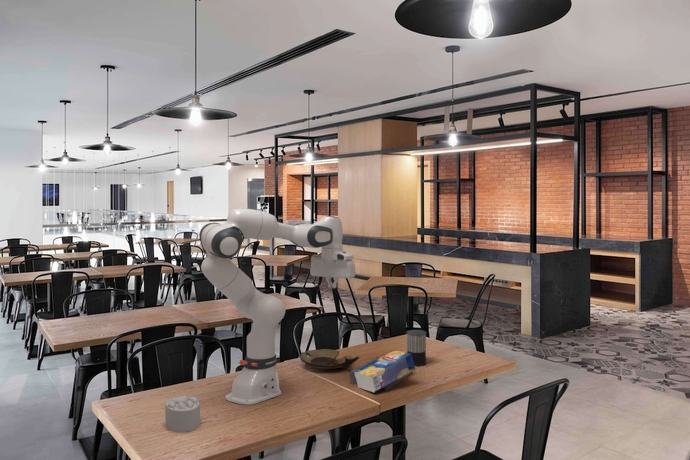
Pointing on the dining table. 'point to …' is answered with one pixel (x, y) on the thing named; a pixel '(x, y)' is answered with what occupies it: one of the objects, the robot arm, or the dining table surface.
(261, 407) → the dining table surface
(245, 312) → the robot arm
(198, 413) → the lumpy-topped squat cylinder
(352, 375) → the angle bracket
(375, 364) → the beverage box
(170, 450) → the dining table surface
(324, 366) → the olive brown plate
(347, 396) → the dining table surface
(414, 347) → the milk frother
